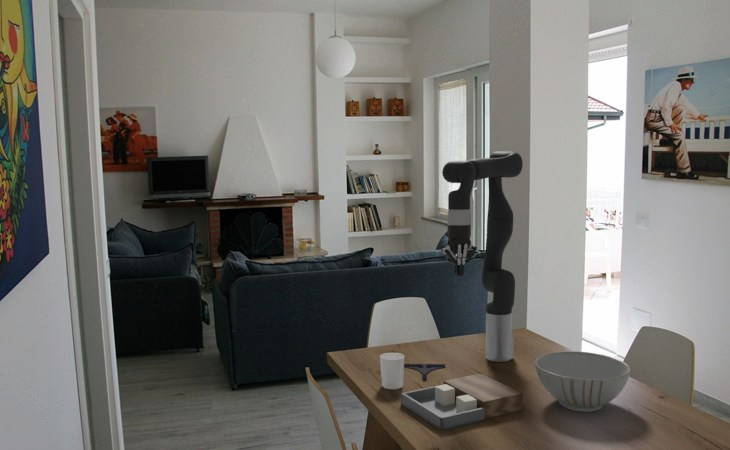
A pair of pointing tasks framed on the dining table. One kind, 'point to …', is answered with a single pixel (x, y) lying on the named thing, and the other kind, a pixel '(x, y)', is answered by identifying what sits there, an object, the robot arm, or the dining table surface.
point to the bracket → (424, 368)
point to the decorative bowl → (582, 378)
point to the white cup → (392, 370)
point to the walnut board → (488, 394)
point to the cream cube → (444, 394)
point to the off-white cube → (465, 403)
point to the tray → (439, 410)
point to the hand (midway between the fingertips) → (459, 275)
